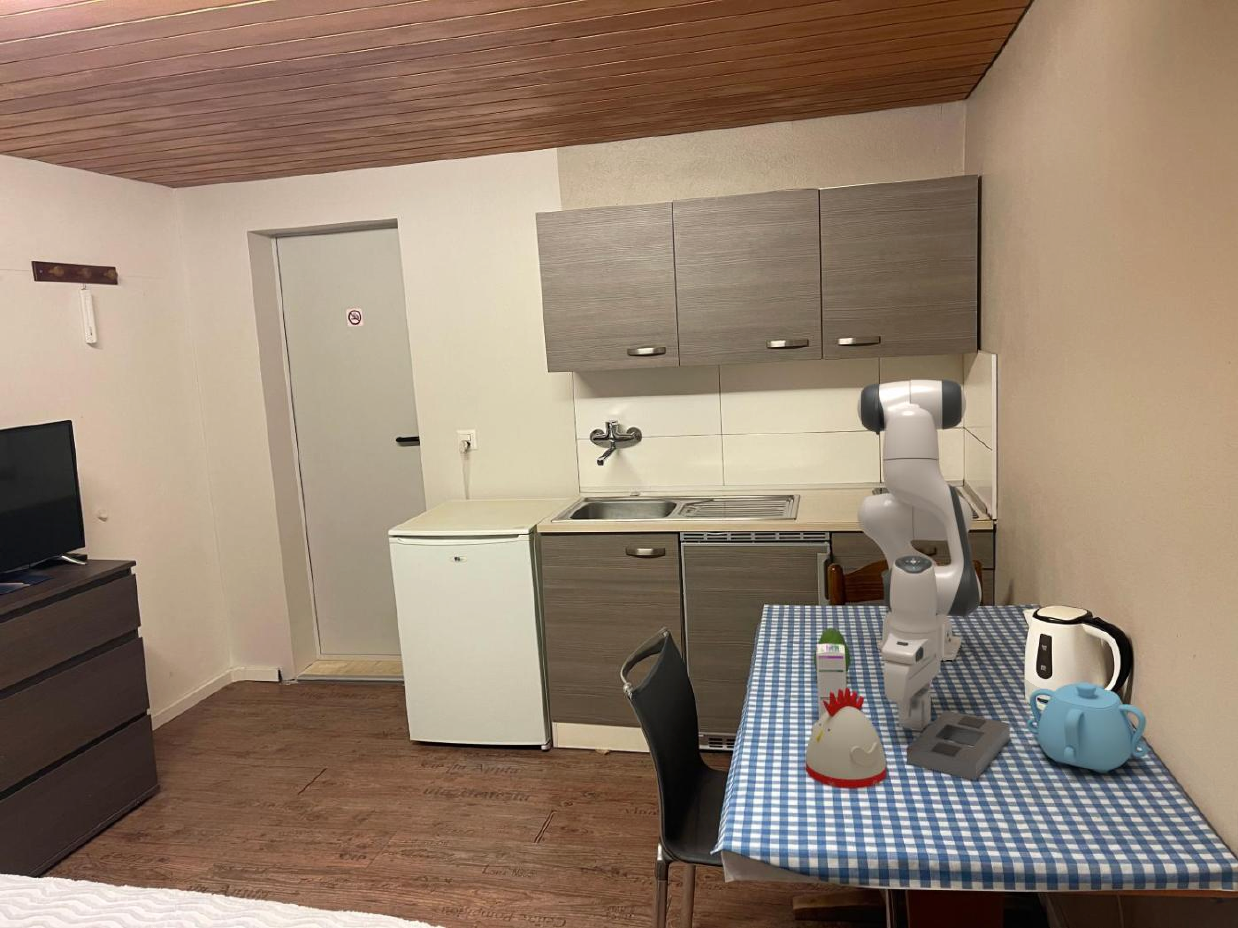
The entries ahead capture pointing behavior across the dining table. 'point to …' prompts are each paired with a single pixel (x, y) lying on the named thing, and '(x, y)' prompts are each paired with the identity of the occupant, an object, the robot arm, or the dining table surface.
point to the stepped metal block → (918, 711)
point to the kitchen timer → (845, 745)
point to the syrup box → (830, 672)
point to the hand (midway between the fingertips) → (914, 709)
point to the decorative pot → (1087, 727)
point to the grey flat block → (954, 756)
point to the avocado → (834, 638)
